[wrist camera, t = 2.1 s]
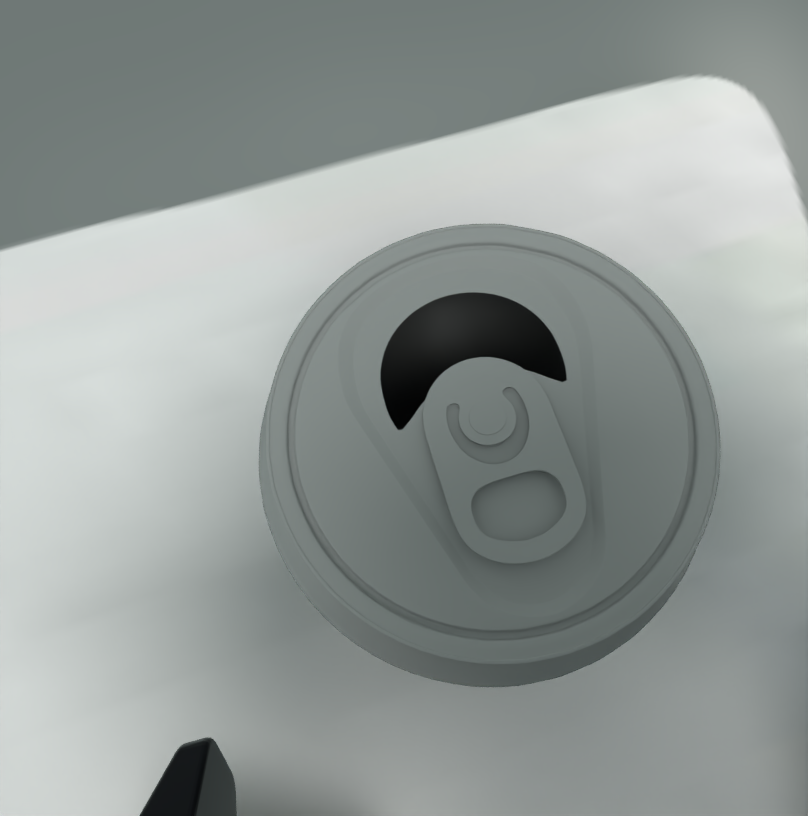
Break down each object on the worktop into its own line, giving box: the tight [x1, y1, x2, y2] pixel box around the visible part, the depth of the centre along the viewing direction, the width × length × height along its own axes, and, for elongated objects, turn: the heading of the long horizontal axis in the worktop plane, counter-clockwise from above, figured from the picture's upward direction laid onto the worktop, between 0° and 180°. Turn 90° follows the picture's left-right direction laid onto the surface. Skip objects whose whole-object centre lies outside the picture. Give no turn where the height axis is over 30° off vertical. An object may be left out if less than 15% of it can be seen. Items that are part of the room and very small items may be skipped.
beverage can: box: [259, 224, 720, 687], centre depth 14 cm, size 6×6×12 cm
